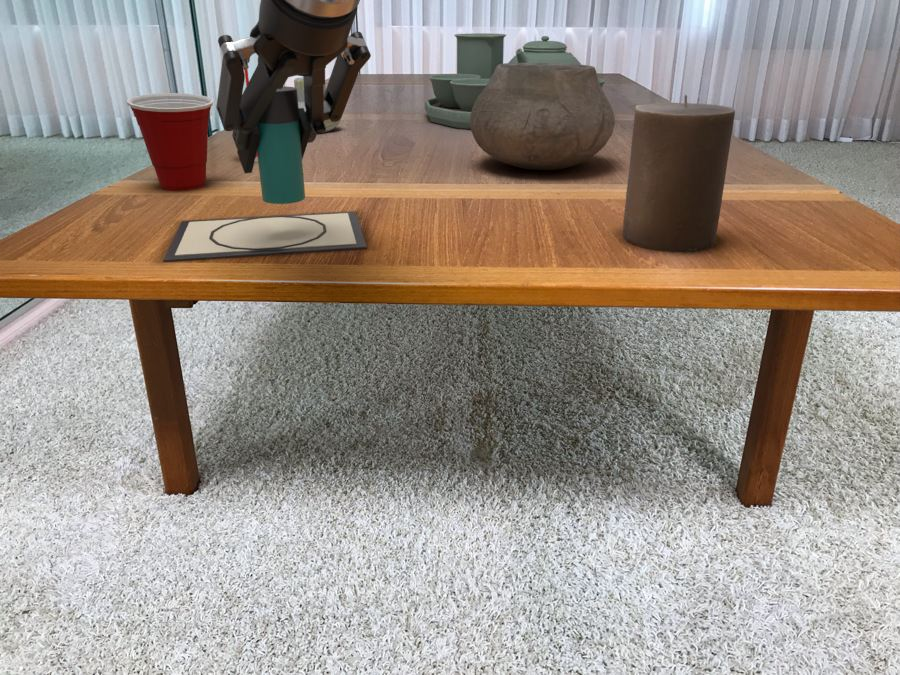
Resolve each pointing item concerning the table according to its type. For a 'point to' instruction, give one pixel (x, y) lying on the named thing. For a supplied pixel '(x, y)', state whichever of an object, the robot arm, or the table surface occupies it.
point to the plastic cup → (175, 136)
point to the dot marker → (281, 149)
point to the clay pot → (542, 115)
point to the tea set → (483, 73)
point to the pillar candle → (677, 175)
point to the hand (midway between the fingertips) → (268, 159)
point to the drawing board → (265, 236)
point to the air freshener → (301, 104)
